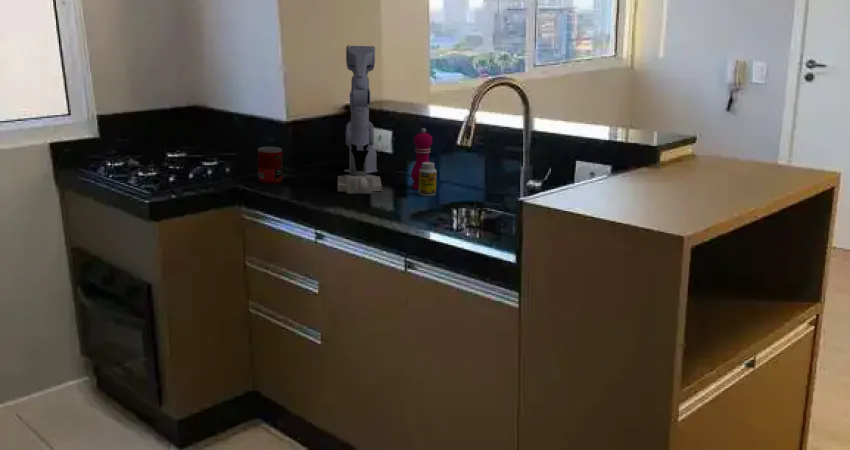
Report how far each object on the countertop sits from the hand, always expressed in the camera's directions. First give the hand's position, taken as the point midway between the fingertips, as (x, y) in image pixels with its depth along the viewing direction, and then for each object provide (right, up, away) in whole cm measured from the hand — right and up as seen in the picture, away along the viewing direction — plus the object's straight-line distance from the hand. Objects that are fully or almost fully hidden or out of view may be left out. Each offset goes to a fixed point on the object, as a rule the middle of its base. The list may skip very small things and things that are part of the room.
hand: (359, 168), depth 266 cm
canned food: (-30, -4, +6) cm, 31 cm away
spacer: (0, -3, +1) cm, 3 cm away
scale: (0, -6, 0) cm, 6 cm away
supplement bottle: (+22, -9, -6) cm, 25 cm away
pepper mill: (+20, -7, +2) cm, 21 cm away
